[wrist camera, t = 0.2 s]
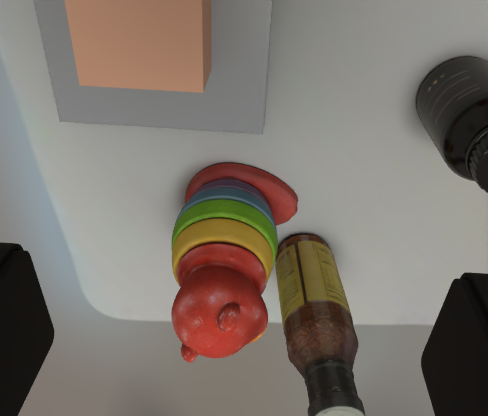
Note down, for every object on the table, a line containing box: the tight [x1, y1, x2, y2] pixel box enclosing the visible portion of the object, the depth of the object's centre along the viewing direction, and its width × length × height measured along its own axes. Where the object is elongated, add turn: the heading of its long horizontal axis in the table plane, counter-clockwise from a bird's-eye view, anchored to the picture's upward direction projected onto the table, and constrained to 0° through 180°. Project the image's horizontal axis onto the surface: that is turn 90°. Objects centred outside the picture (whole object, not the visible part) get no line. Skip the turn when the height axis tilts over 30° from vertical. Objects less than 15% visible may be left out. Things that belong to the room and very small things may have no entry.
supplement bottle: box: [417, 57, 488, 192], centre depth 34 cm, size 7×7×12 cm
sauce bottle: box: [276, 235, 365, 416], centre depth 41 cm, size 7×6×20 cm
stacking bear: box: [172, 163, 298, 362], centre depth 39 cm, size 11×10×18 cm
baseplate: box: [34, 0, 272, 134], centre depth 35 cm, size 20×18×2 cm
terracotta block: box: [64, 0, 212, 93], centre depth 32 cm, size 9×9×5 cm
